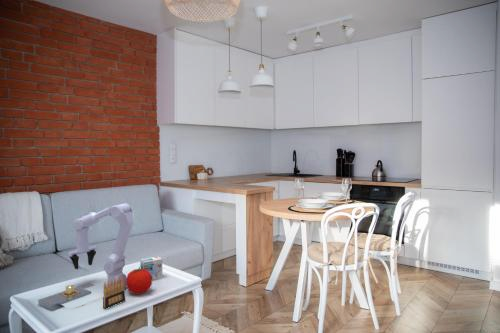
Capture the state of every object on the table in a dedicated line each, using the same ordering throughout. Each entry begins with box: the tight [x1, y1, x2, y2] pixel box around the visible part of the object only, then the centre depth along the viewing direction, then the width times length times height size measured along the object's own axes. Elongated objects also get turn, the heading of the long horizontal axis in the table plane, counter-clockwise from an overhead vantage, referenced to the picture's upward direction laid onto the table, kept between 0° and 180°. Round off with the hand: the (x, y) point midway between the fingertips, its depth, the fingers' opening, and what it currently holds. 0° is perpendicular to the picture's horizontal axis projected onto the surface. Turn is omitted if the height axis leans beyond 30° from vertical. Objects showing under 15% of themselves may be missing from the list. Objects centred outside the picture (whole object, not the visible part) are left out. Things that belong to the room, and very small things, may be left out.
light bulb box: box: [139, 255, 163, 281], centre depth 202 cm, size 11×7×11 cm, turn 123°
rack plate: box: [37, 286, 92, 312], centre depth 174 cm, size 12×19×3 cm, turn 146°
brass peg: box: [65, 284, 75, 296], centre depth 176 cm, size 4×4×6 cm
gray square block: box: [77, 282, 95, 290], centre depth 189 cm, size 6×6×2 cm
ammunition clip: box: [102, 276, 126, 310], centre depth 168 cm, size 11×2×12 cm, turn 148°
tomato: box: [126, 266, 153, 295], centre depth 182 cm, size 12×13×12 cm
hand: (83, 266), depth 192 cm, fingers open, 7 cm apart
